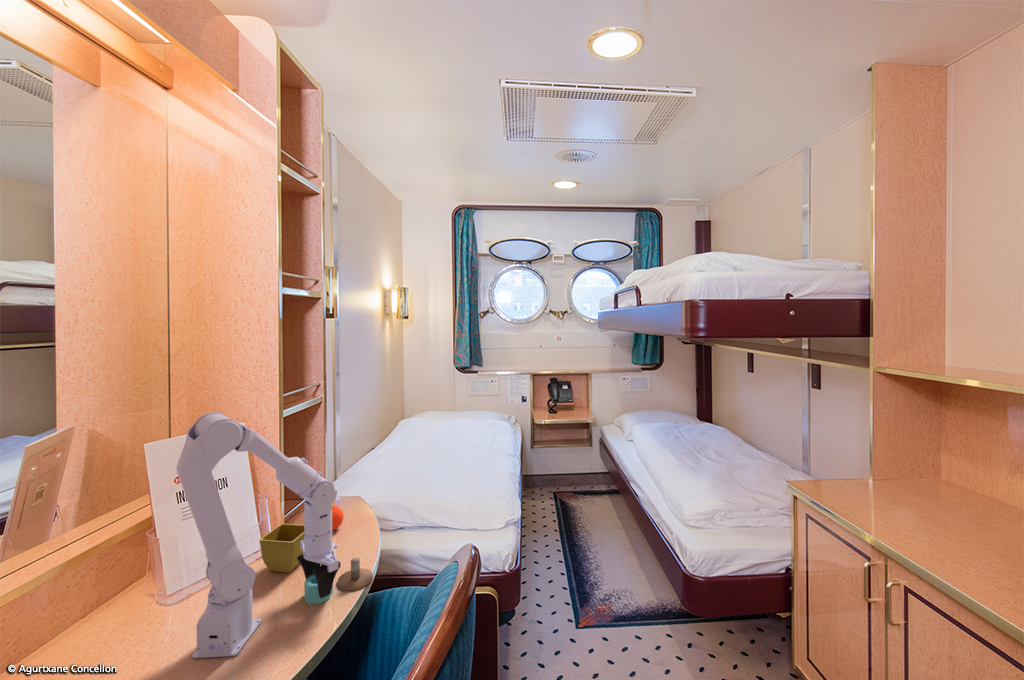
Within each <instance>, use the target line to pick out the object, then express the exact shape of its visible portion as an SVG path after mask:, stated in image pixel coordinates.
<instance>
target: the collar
mask: <svg viewBox="0 0 1024 680" xmlns="http://www.w3.org/2000/svg"><path fill="white" fill-rule="evenodd" d="M333 586H334V584H333V585H332V589H331V593H330V595H328V596H326V597H324V598H320V596H319V592H318V585H317V580H316V578H315V575H314V574H313V575H311V576H308V578H307V579H306V578H305V581H304V601H305V602H306V603H307V604H308V605H320V604H322V603H324V602H326V601H328V600H330V599H331V597H332V595H333V593H334V587H333Z"/></svg>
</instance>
